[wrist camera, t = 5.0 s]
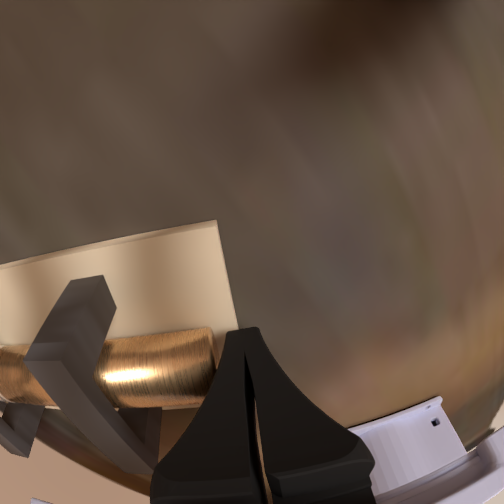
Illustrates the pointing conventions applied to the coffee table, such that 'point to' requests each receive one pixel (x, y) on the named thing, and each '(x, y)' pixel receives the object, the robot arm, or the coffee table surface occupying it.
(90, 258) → the board
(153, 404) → the tube
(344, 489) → the robot arm
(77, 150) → the coffee table surface
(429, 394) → the coffee table surface
